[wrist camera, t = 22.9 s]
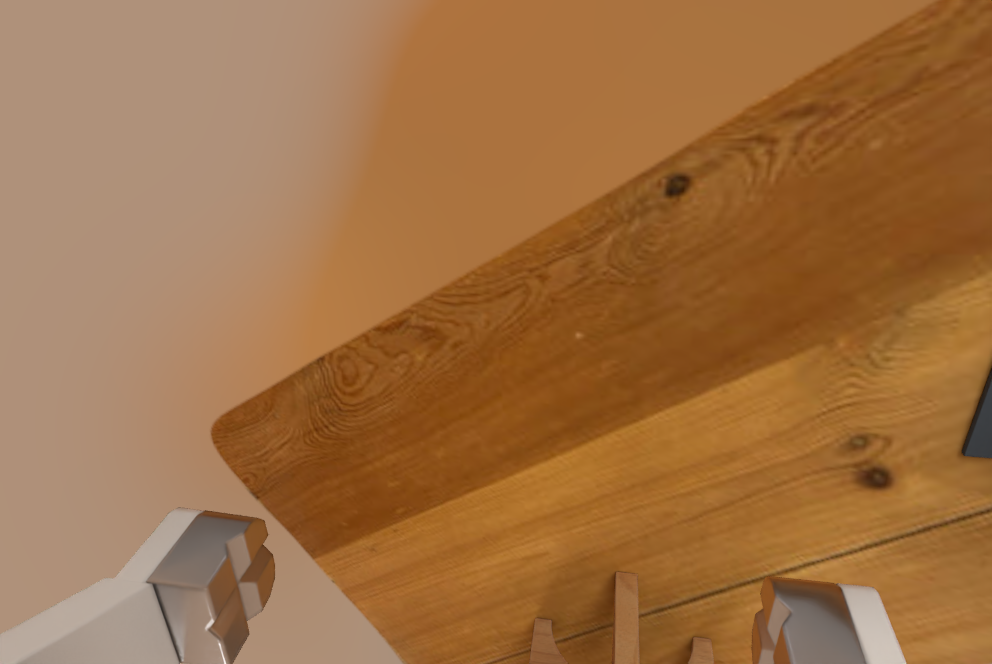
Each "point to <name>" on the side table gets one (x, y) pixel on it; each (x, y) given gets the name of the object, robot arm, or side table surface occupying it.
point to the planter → (625, 631)
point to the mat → (981, 427)
